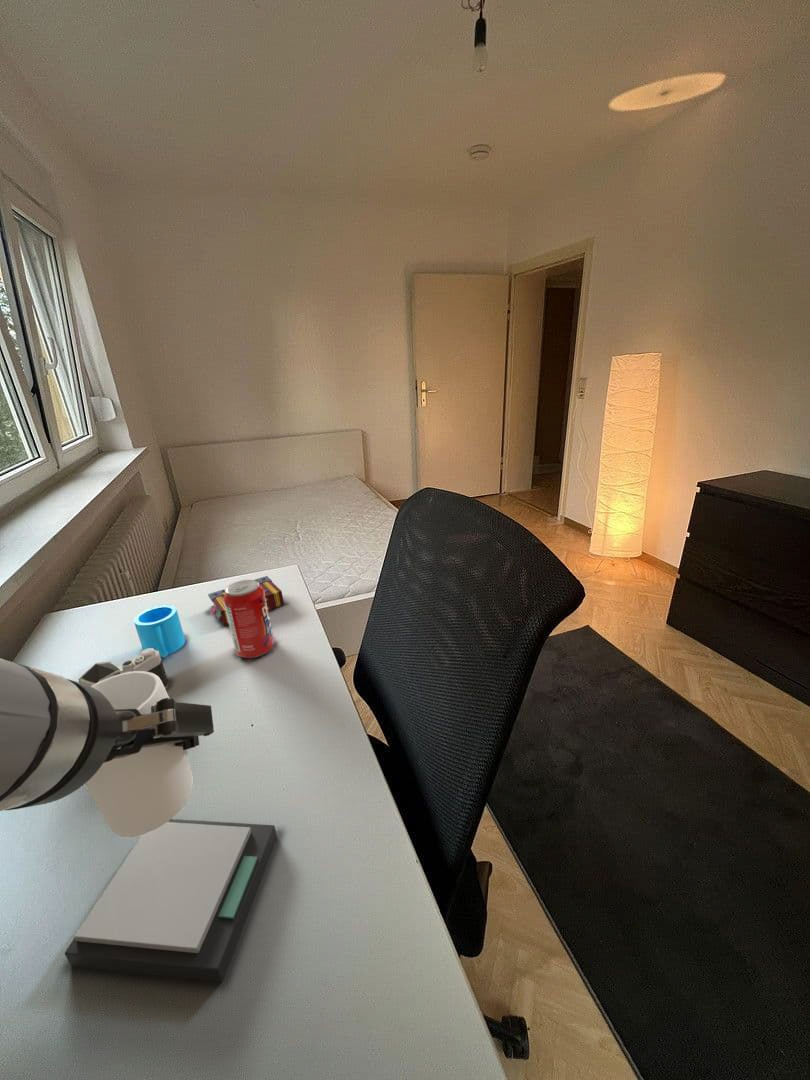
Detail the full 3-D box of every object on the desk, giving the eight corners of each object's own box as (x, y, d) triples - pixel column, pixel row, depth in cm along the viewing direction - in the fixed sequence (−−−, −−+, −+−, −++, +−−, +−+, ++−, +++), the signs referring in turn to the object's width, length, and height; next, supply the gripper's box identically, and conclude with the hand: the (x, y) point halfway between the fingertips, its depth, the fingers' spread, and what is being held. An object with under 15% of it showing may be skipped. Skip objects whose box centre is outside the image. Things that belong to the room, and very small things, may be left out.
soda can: (228, 658, 91) (212, 593, 86) (251, 637, 98) (238, 576, 93) (260, 663, 89) (246, 597, 83) (282, 641, 96) (270, 579, 90)
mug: (144, 644, 98) (134, 612, 95) (184, 632, 102) (175, 601, 99) (143, 673, 88) (132, 638, 85) (188, 659, 92) (178, 625, 89)
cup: (107, 868, 40) (52, 749, 35) (106, 800, 47) (59, 691, 42) (206, 815, 44) (170, 702, 39) (192, 760, 51) (159, 657, 46)
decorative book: (285, 606, 110) (282, 588, 108) (218, 630, 102) (214, 611, 100) (269, 590, 119) (266, 573, 117) (207, 611, 110) (202, 593, 109)
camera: (151, 672, 88) (137, 629, 85) (176, 685, 84) (163, 640, 80) (61, 726, 76) (40, 678, 72) (86, 744, 71) (65, 694, 68)
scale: (71, 967, 44) (60, 948, 43) (159, 830, 57) (152, 813, 56) (223, 984, 42) (215, 964, 41) (277, 838, 55) (273, 820, 54)
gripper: (-232, 881, 22) (26, 821, 42) (217, 750, 28) (257, 752, 48) (-197, 725, 25) (30, 738, 45) (205, 636, 31) (247, 683, 51)
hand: (147, 745), depth 47 cm, fingers closed on cup, 8 cm apart
